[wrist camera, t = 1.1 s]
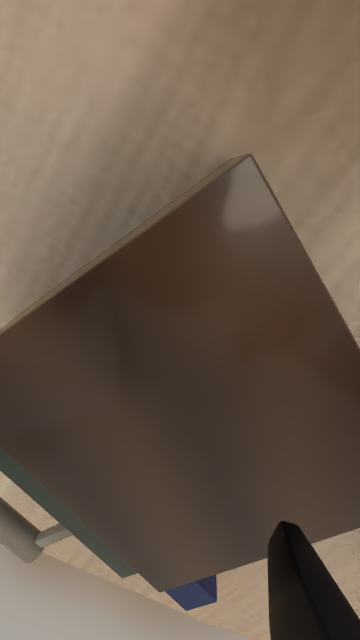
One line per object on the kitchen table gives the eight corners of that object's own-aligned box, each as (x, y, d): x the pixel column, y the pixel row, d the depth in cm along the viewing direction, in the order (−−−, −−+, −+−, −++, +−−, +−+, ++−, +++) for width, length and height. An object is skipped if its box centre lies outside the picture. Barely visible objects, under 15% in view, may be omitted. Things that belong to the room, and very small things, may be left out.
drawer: (96, 491, 26) (58, 601, 20) (-35, 364, 23) (-137, 448, 16) (304, 396, 21) (346, 500, 15) (182, 209, 17) (164, 237, 11)
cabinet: (176, 453, 25) (159, 593, 17) (39, 298, 21) (-71, 384, 13) (354, 371, 21) (445, 501, 13) (231, 158, 17) (251, 152, 9)
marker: (217, 562, 30) (217, 603, 27) (187, 572, 31) (185, 612, 28) (149, 491, 27) (142, 529, 24) (119, 504, 28) (109, 542, 25)
